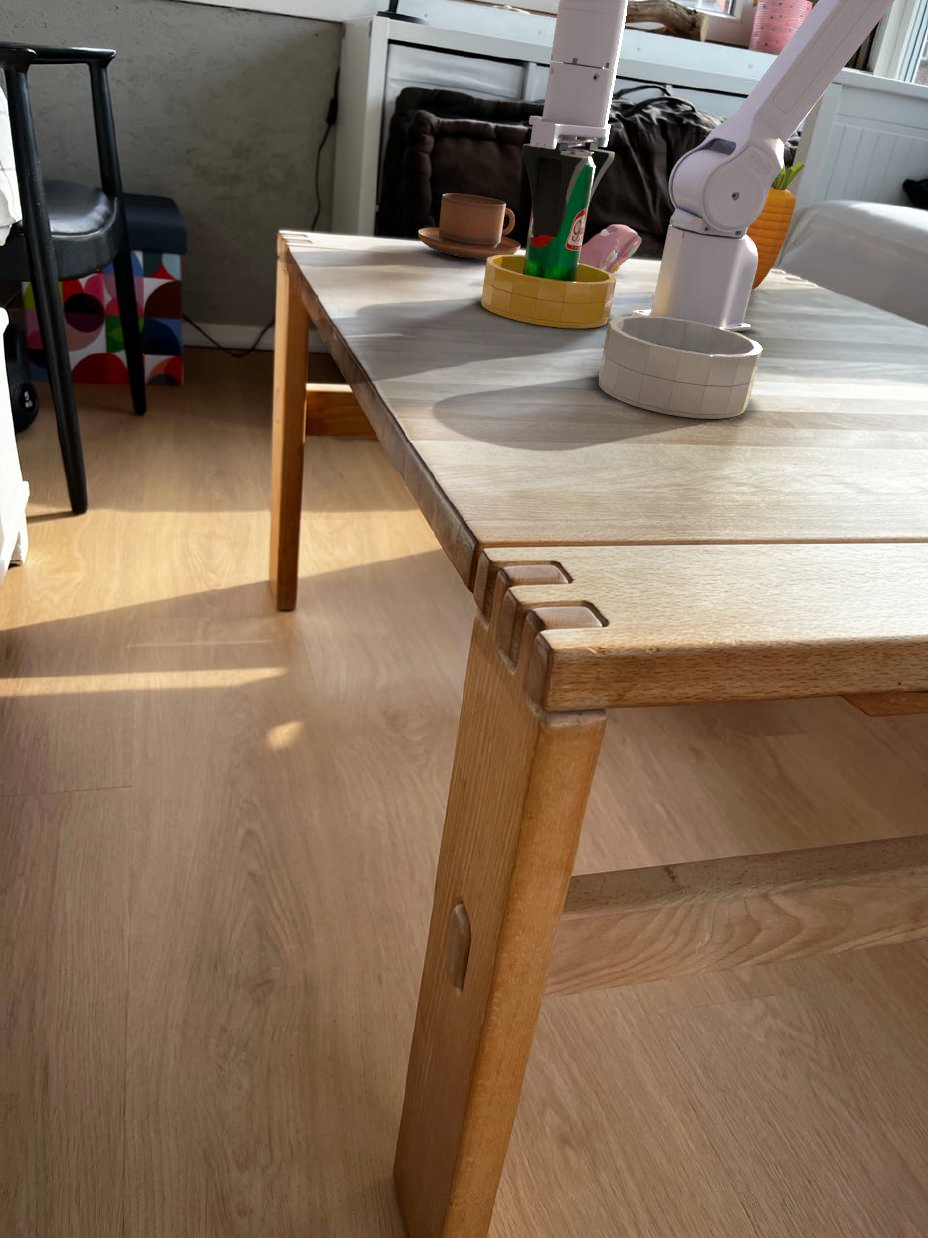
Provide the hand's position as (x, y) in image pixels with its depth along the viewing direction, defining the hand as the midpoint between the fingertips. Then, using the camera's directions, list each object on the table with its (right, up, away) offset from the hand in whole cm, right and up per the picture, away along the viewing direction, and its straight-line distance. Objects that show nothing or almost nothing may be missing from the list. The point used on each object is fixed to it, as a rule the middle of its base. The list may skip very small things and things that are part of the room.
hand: (556, 232), depth 94 cm
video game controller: (+7, +4, +25) cm, 26 cm away
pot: (+7, -19, -17) cm, 26 cm away
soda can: (-1, -4, +2) cm, 5 cm away
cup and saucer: (-8, +7, +26) cm, 28 cm away
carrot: (+26, +4, +30) cm, 40 cm away
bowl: (-1, -6, +3) cm, 7 cm away
